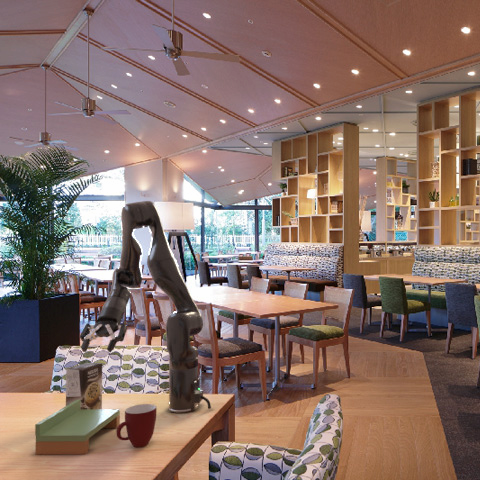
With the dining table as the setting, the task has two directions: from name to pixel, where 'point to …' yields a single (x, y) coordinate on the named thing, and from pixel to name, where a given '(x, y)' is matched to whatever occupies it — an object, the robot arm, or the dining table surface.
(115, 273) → the robot arm
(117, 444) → the dining table surface
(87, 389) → the coffee box
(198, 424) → the dining table surface
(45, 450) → the shelf
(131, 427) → the mug
